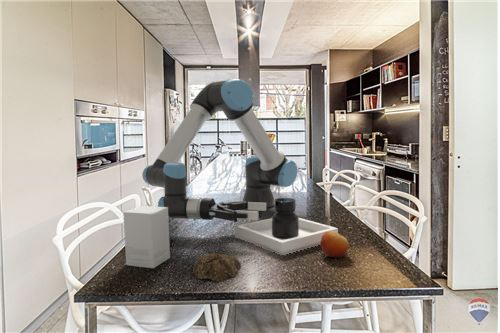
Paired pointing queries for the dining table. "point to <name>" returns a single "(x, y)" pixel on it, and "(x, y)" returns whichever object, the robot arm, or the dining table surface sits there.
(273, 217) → the ink bottle
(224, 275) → the brown lumpy mound
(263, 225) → the tray
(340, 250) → the fruit
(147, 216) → the supplement box
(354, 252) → the dining table surface
